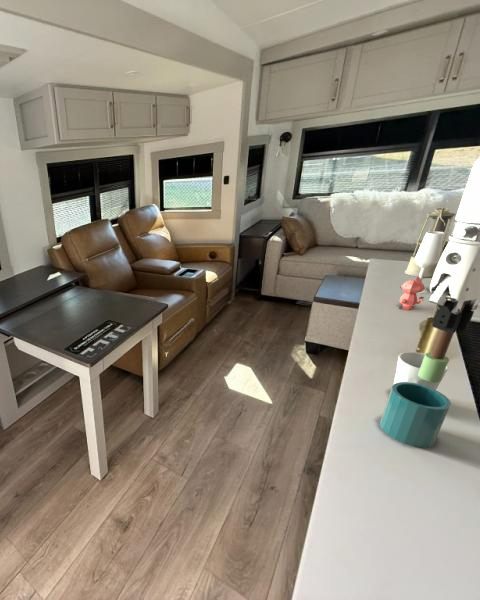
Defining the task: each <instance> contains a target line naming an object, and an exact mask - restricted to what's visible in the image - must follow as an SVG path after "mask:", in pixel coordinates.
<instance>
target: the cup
mask: <svg viewBox="0 0 480 600" xmlns="http://www.w3.org/2000/svg"><path fill="white" fill-rule="evenodd" d="M425 354H426V353H422V352H416V351H405V352H401V353H399V354H398V358H397V364H396V371H395V375H394V380H393V385H394V384H396V383H399V382H410V383H416V384H421V385H424V386H427V387H430V388H432V389H434V390H436V391H437V389H438V387H439V385H440V384H441V382H442V380H443V379H444V377H445V375H446V373H447V371H448V370H449V365H448V364H447V366H446V369H445V371H444V374H443V376H442V379H441V381H440V382H437V383H435V382H429V381H426V380H423V379H421V378H420V377H419V376H418V373H419V370H420V367H421V365H422V362H423V359H424V356H425ZM393 385H392V386H393Z"/></svg>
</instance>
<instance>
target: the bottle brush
mask: <svg viewBox="0 0 480 600" xmlns="http://www.w3.org/2000/svg"><path fill="white" fill-rule="evenodd" d="M450 301H452V302H453V303H454V302H455V300H451V299H450ZM464 306H465V302H463V305H462V308H461V310H460V312H459V313H461V314H462V311H463V308H464ZM454 335H455V334H454V333H448V332H446V331H443V330H440V329H439V331H438V333H437V337H436V339H435V341H434V345H433V347H432V350H431V352H426V353H424V354H425V356H424V359H423V362H422V365H421V367H420V370H419V373H418V376H419V377H420V378H421V379H423V380H426V381H429V382H435V383H437V382H440V381H441V382H442V380H443V378H442V376H443V374H444V371H445V369H446V366H447V365H448V364H449V362H450V359H449V358H448V357H447V356H446V354H447V351H448V349H449V346H450V344H451V341H452V339H453V336H454ZM441 379H442V380H441ZM441 382H440V383H441Z"/></svg>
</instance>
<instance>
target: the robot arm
mask: <svg viewBox="0 0 480 600" xmlns="http://www.w3.org/2000/svg"><path fill="white" fill-rule="evenodd" d="M429 292H430V293H431V294H432V295H431V296H430V298H429V299H428V302H429V303H431V304H435V305H436V306H435V308H436V313H435V316H434V317H433V321H432V324H431V327H432V328H435V329H438V330H439V331H440V330H443V331H446V332H448V333H456V332H457V330H459V331H462V332H463V331H468V328H469V325H470V323H471V321H472V318H473V315H474V314H475V311H476V310H477V309H478V308H479V306H480V156H479V157H478V158H477V159H476V160H475V161H474V163H473V165H472V168H471V170H470V173H469V175H468V179H467V182H466V185H465V187H464V191H463V194H462V196H461V200H460V203H459V206H458V209H457V212H456V215H455V218H454V221H453V225H452V227H451V230H450V232H449V235H448V242H447V243H446V245H445V248H444V249H443V252H442V255H441V258H440V260H439V262H438V265H437V267H436V270H435V272H434V275H433V277H431V281H430V284H429ZM451 300H455V302H454V303H453V302H452V301H451ZM463 302H465V306H464V308H463V311H462V314H461V313H459V312H460V310H461V308H462V305H463Z"/></svg>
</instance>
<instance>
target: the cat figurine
mask: <svg viewBox="0 0 480 600" xmlns="http://www.w3.org/2000/svg"><path fill="white" fill-rule="evenodd" d="M400 289H401V290H402V291H403V292H404V293H403V294H402V295H401V296H400V297H399V303H400V304H401V306H400V307H398V309H399V310H402V311H412V309H414V307H413V306H416V305H420V304H422V303H423V302H424V299H425V297H424V296H420V297H418V295H417V294H420V293H419V292H422V291H423V290H424V289H425V290H426V288H425V285H424V283H423V280H422V281H421V279H420V277H419V276H418V277H416V279H409V280H407V281H405V282H404V283H403V284H402V285H401V286H400ZM418 299H419V301H418Z"/></svg>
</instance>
